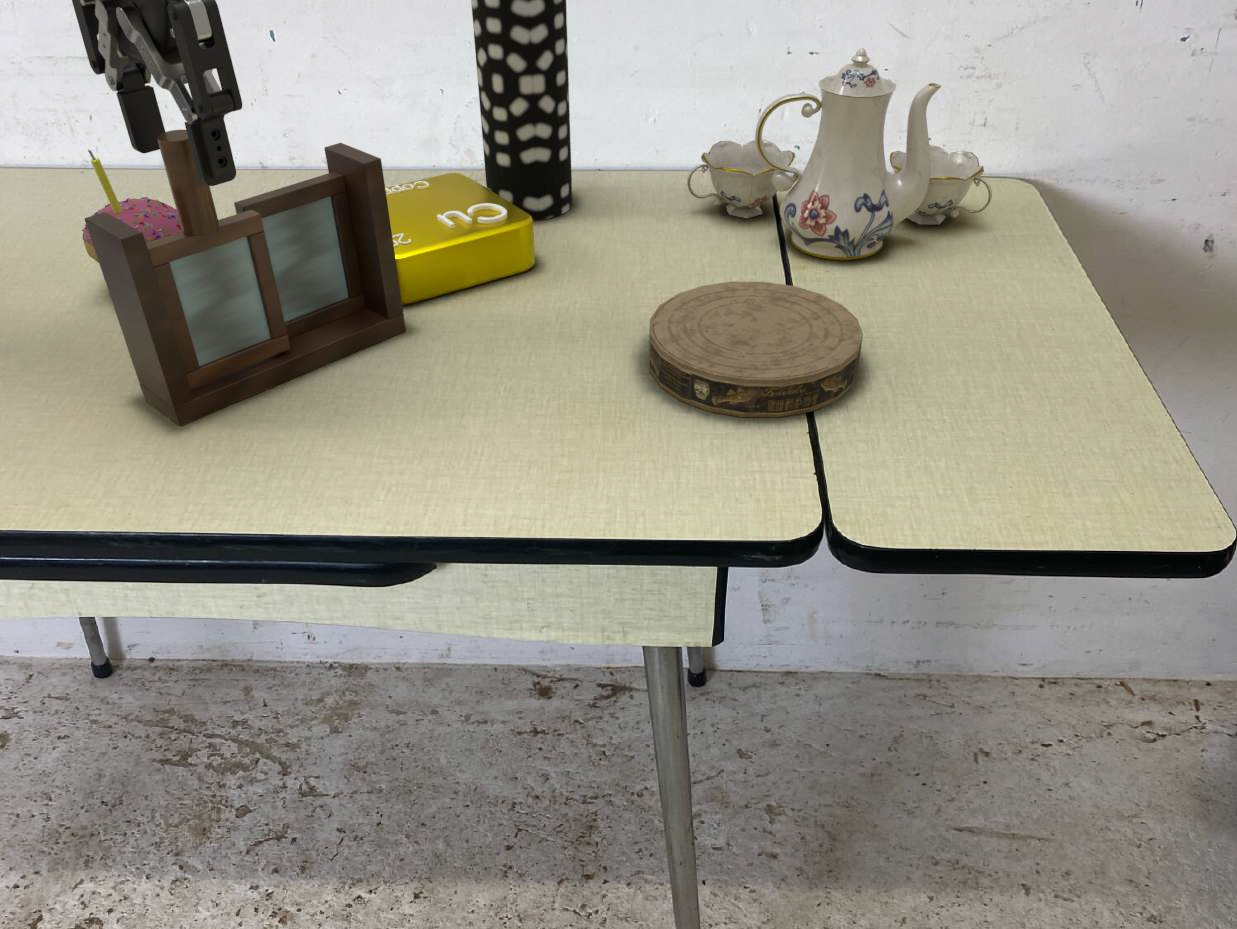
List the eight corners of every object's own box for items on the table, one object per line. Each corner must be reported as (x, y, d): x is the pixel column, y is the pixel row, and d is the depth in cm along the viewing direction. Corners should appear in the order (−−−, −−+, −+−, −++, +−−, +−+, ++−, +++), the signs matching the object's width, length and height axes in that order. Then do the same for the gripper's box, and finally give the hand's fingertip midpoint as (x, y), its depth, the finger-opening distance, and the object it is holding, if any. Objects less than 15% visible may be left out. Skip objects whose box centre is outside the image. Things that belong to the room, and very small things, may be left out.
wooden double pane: (179, 426, 76) (120, 239, 67) (145, 401, 79) (83, 217, 70) (406, 330, 87) (381, 158, 78) (369, 311, 90) (340, 142, 81)
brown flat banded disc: (700, 301, 91) (701, 266, 89) (883, 341, 85) (890, 306, 83) (611, 386, 80) (611, 349, 78) (815, 439, 75) (820, 400, 73)
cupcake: (155, 315, 89) (109, 166, 81) (78, 297, 92) (26, 151, 84) (224, 275, 95) (188, 132, 87) (150, 258, 98) (107, 118, 90)
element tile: (463, 214, 105) (458, 163, 102) (544, 267, 96) (541, 213, 93) (318, 250, 99) (308, 197, 96) (389, 311, 90) (381, 255, 86)
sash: (194, 393, 76) (123, 156, 66) (176, 381, 78) (104, 147, 67) (295, 351, 81) (245, 123, 70) (277, 341, 82) (225, 115, 71)
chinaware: (963, 213, 109) (996, 26, 99) (1008, 267, 95) (1052, 56, 86) (684, 212, 109) (690, 26, 100) (690, 265, 96) (697, 56, 86)
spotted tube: (543, 227, 103) (532, -12, 89) (471, 210, 106) (449, -23, 92) (587, 198, 108) (583, -31, 95) (517, 183, 111) (503, -41, 98)
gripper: (-21, -145, 61) (78, 154, 71) (98, -119, 53) (188, 210, 64) (106, -158, 65) (181, 127, 75) (233, -136, 57) (296, 177, 68)
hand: (184, 165), depth 70 cm, fingers open, 8 cm apart
